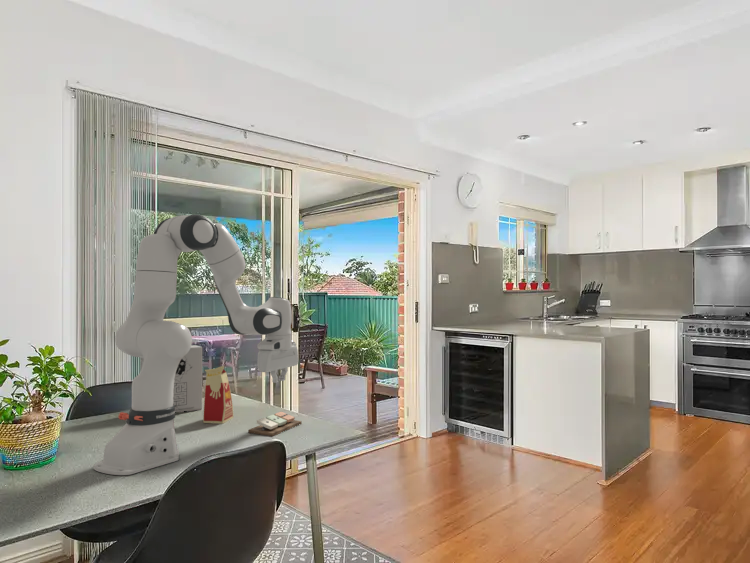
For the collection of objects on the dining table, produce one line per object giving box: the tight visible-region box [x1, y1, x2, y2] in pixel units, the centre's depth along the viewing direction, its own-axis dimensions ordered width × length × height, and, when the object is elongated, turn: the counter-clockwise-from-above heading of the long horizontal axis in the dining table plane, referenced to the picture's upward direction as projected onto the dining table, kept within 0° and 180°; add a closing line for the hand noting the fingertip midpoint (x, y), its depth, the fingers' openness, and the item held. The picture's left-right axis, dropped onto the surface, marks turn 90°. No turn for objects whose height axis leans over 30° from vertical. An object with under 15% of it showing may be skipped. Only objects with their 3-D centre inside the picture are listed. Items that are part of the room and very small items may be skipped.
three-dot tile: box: [273, 411, 296, 422], centre depth 184 cm, size 4×6×1 cm, turn 65°
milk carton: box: [202, 365, 234, 425], centre depth 190 cm, size 9×9×20 cm
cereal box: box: [139, 344, 203, 413], centre depth 204 cm, size 22×8×25 cm, turn 124°
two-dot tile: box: [265, 414, 287, 426], centre depth 179 cm, size 4×6×1 cm, turn 65°
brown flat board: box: [247, 419, 302, 437], centre depth 179 cm, size 17×10×2 cm, turn 155°
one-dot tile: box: [255, 417, 278, 430], centre depth 175 cm, size 4×6×1 cm, turn 65°
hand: (279, 381), depth 185 cm, fingers open, 3 cm apart
